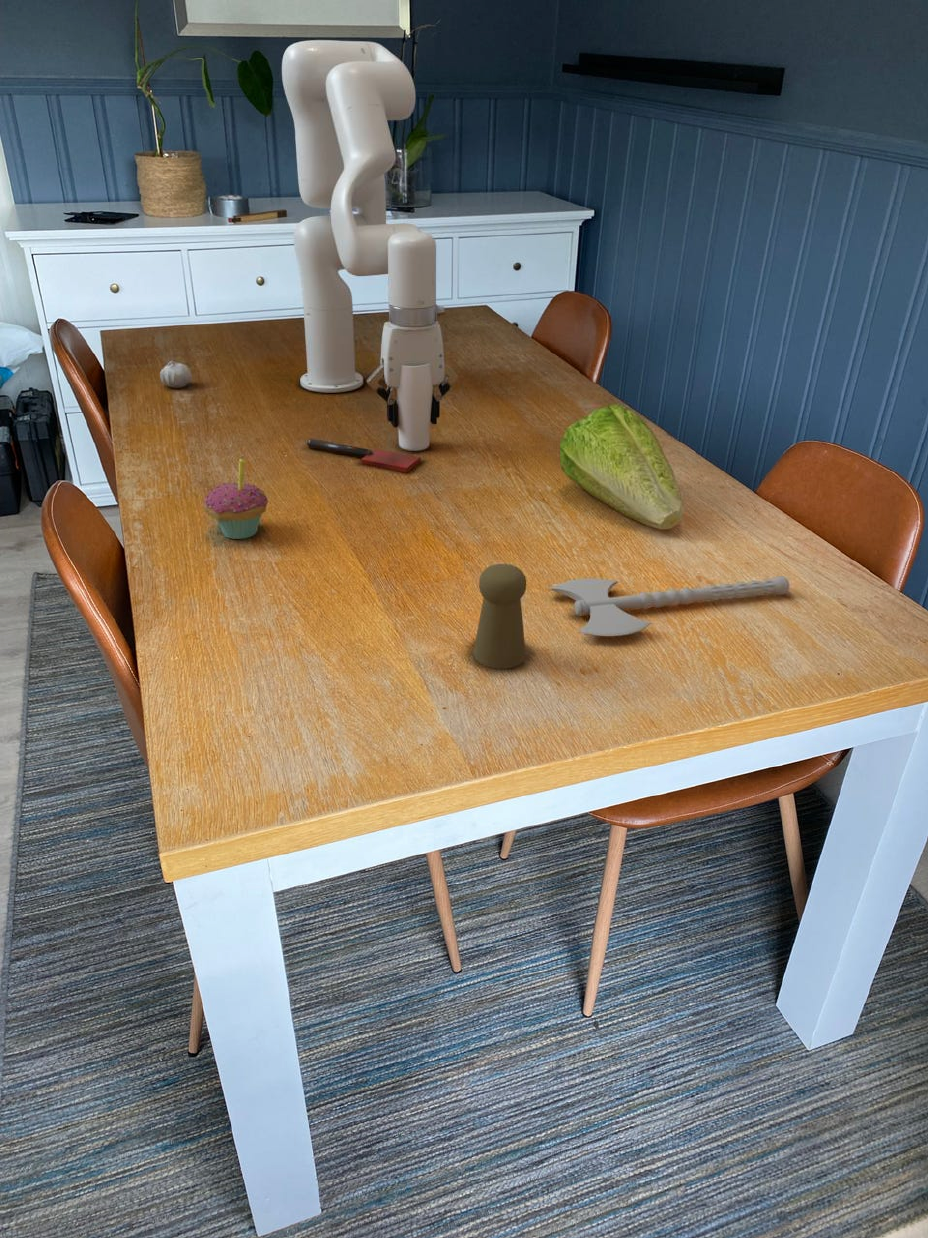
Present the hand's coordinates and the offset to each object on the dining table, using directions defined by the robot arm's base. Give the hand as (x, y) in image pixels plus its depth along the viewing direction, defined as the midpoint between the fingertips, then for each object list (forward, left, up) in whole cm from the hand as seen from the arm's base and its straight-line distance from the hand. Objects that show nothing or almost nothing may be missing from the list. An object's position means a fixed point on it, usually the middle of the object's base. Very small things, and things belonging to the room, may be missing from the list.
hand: (413, 422), depth 162 cm
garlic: (-43, -38, -5) cm, 57 cm away
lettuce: (+31, +25, -5) cm, 40 cm away
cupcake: (+26, -32, -5) cm, 42 cm away
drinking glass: (0, 0, -5) cm, 5 cm away
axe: (+60, +19, -5) cm, 64 cm away
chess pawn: (+65, -6, -5) cm, 66 cm away
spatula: (+3, -9, -4) cm, 11 cm away
